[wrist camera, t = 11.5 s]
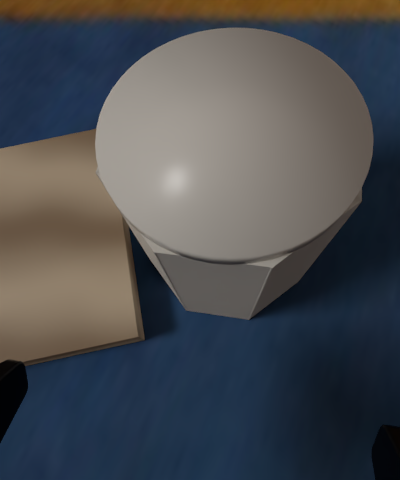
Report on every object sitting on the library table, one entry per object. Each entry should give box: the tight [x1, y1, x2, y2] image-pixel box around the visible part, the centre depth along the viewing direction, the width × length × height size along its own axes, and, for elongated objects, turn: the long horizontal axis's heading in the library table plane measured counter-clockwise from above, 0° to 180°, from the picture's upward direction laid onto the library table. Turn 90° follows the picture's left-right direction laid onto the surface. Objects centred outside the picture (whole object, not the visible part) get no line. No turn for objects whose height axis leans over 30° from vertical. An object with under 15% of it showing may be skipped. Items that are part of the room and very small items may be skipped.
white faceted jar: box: [95, 28, 373, 320], centre depth 15 cm, size 8×8×10 cm
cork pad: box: [0, 129, 145, 366], centre depth 19 cm, size 12×12×2 cm
